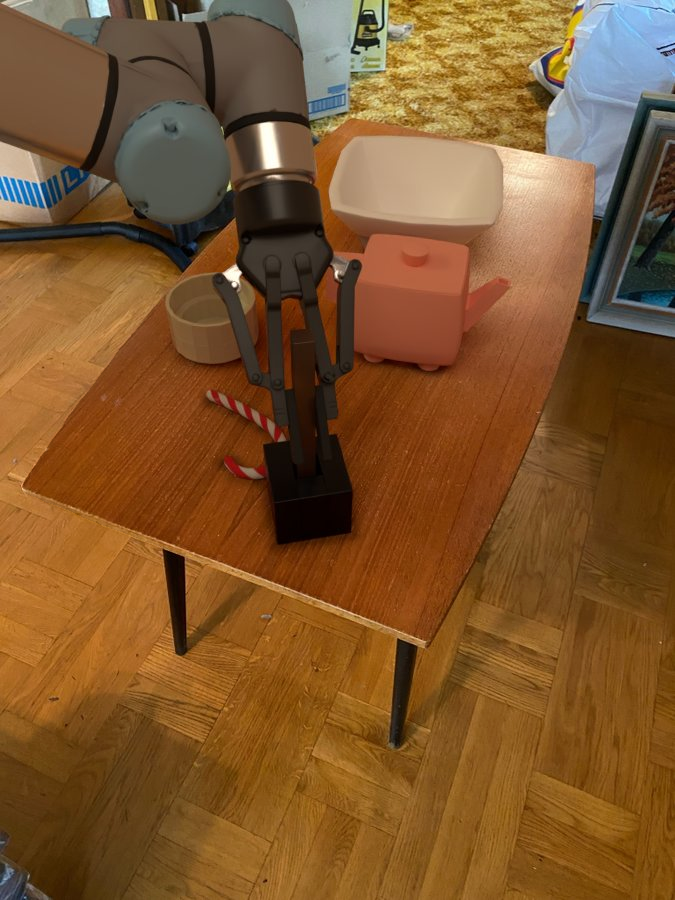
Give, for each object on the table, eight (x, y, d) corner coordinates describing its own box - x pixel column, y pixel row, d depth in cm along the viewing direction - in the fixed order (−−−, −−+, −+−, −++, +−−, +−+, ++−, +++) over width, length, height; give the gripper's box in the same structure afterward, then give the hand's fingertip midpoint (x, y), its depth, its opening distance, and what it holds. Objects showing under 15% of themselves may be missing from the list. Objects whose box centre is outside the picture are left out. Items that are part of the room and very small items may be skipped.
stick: (298, 498, 71) (293, 344, 57) (295, 484, 73) (289, 329, 58) (316, 495, 72) (315, 341, 57) (312, 482, 73) (311, 327, 58)
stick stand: (277, 545, 72) (273, 502, 66) (267, 487, 77) (262, 443, 71) (351, 533, 73) (353, 490, 68) (336, 476, 78) (336, 433, 72)
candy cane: (231, 377, 86) (304, 450, 78) (232, 384, 87) (304, 458, 79) (174, 404, 83) (244, 484, 75) (176, 412, 84) (245, 492, 76)
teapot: (497, 325, 96) (519, 230, 85) (490, 388, 87) (513, 292, 77) (337, 302, 98) (339, 208, 88) (316, 361, 90) (315, 265, 80)
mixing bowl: (162, 362, 90) (153, 321, 85) (187, 309, 97) (180, 268, 92) (248, 371, 89) (243, 330, 84) (266, 317, 96) (263, 276, 91)
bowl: (320, 277, 102) (319, 212, 95) (346, 191, 119) (347, 129, 111) (489, 295, 100) (503, 230, 92) (492, 204, 116) (504, 142, 109)
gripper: (351, 196, 66) (384, 447, 68) (190, 210, 64) (227, 469, 65) (368, 168, 59) (403, 451, 60) (186, 183, 56) (228, 476, 58)
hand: (312, 460), depth 63 cm, fingers closed on stick, 2 cm apart
